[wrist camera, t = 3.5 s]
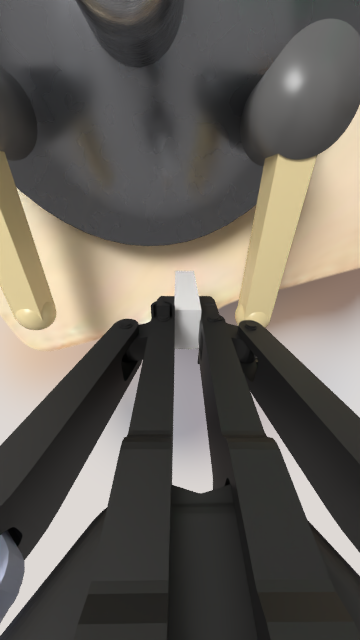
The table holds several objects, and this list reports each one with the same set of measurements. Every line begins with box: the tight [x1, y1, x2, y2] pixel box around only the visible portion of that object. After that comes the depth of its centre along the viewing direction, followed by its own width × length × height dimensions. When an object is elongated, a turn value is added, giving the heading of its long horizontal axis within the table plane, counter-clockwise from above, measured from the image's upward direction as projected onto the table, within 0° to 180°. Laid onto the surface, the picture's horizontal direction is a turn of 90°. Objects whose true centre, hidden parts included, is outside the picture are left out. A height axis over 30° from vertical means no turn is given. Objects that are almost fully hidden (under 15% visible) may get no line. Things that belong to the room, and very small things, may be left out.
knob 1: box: [0, 66, 56, 330], centre depth 15 cm, size 18×5×5 cm, turn 179°
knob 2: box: [235, 19, 360, 328], centre depth 16 cm, size 18×5×5 cm, turn 179°
